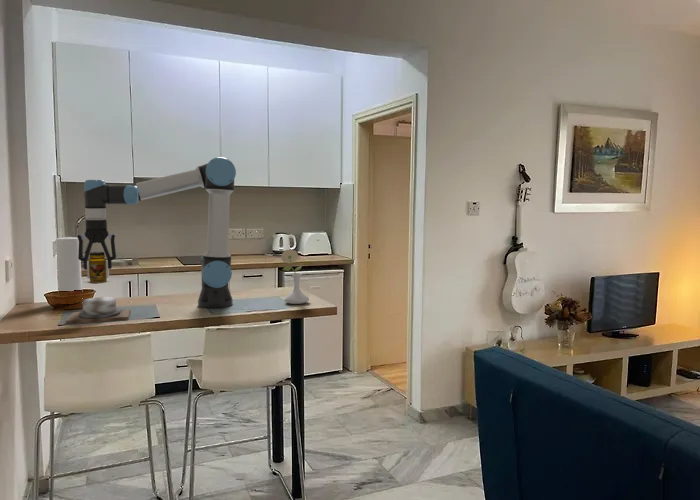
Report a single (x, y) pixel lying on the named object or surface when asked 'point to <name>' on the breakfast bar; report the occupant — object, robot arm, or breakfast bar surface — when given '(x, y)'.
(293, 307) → the breakfast bar surface
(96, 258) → the condiment
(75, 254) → the cylinder container
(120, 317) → the duct base
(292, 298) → the flower in vase
